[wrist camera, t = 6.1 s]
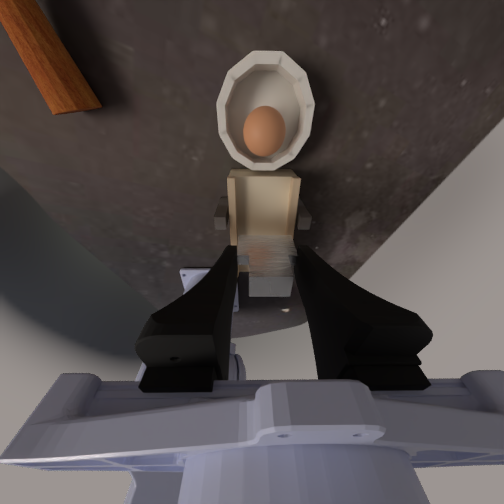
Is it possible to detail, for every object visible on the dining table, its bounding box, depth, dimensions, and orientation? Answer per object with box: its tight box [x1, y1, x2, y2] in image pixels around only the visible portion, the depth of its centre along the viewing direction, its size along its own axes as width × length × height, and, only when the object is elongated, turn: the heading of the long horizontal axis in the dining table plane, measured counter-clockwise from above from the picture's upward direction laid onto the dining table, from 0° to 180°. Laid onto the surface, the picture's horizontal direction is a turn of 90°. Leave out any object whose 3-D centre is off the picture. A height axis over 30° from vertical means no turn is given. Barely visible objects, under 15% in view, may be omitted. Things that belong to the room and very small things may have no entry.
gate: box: [237, 235, 298, 297], centre depth 12 cm, size 2×4×5 cm, turn 89°
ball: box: [243, 106, 286, 157], centre depth 15 cm, size 3×3×3 cm
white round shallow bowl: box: [216, 51, 315, 170], centre depth 15 cm, size 7×7×2 cm
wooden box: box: [214, 169, 312, 275], centre depth 19 cm, size 10×9×5 cm
